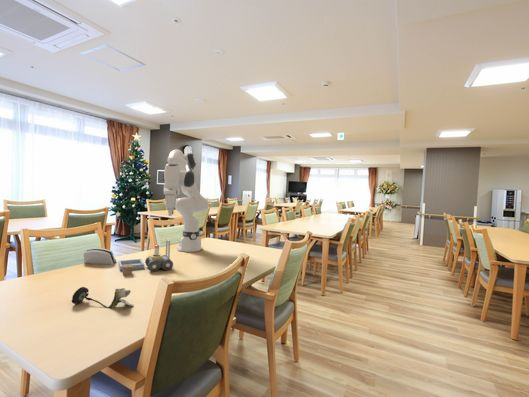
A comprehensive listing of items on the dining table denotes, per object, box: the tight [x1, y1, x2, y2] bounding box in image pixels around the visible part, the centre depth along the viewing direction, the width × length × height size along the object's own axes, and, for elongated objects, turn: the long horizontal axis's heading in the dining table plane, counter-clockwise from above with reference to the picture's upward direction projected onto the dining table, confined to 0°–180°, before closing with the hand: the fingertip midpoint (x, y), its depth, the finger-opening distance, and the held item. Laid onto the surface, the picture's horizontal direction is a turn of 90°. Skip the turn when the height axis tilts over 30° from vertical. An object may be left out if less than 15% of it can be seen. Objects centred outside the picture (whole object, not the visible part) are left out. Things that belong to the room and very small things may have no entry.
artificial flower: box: [71, 286, 134, 309], centre depth 105 cm, size 9×22×10 cm, turn 81°
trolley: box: [144, 238, 174, 273], centre depth 153 cm, size 13×12×16 cm
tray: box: [117, 258, 145, 272], centre depth 154 cm, size 12×12×2 cm
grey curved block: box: [83, 247, 117, 265], centre depth 158 cm, size 17×5×10 cm, turn 89°
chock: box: [121, 264, 133, 277], centre depth 142 cm, size 5×4×4 cm
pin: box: [153, 244, 160, 257], centre depth 152 cm, size 2×2×7 cm
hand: (170, 215), depth 157 cm, fingers open, 8 cm apart
